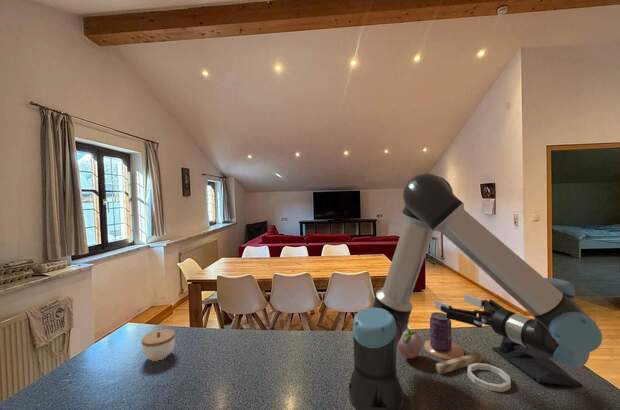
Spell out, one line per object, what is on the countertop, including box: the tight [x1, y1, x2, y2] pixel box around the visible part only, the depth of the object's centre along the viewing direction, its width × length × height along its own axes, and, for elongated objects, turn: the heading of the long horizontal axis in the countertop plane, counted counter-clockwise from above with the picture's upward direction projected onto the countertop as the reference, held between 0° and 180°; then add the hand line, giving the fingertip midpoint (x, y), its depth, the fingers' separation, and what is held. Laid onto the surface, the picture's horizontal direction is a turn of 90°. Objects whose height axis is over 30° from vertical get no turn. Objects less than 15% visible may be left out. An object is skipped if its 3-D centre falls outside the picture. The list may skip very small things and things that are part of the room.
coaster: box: [424, 339, 465, 361], centre depth 102 cm, size 13×13×1 cm
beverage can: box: [429, 311, 453, 352], centre depth 101 cm, size 7×7×12 cm
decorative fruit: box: [396, 329, 423, 360], centre depth 97 cm, size 9×8×10 cm
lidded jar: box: [141, 328, 176, 362], centre depth 102 cm, size 11×11×9 cm
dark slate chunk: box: [492, 336, 582, 387], centre depth 92 cm, size 15×22×5 cm
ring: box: [466, 362, 512, 393], centre depth 85 cm, size 11×12×2 cm
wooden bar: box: [435, 351, 483, 375], centre depth 92 cm, size 18×2×2 cm, turn 110°
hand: (450, 300), depth 98 cm, fingers open, 13 cm apart
